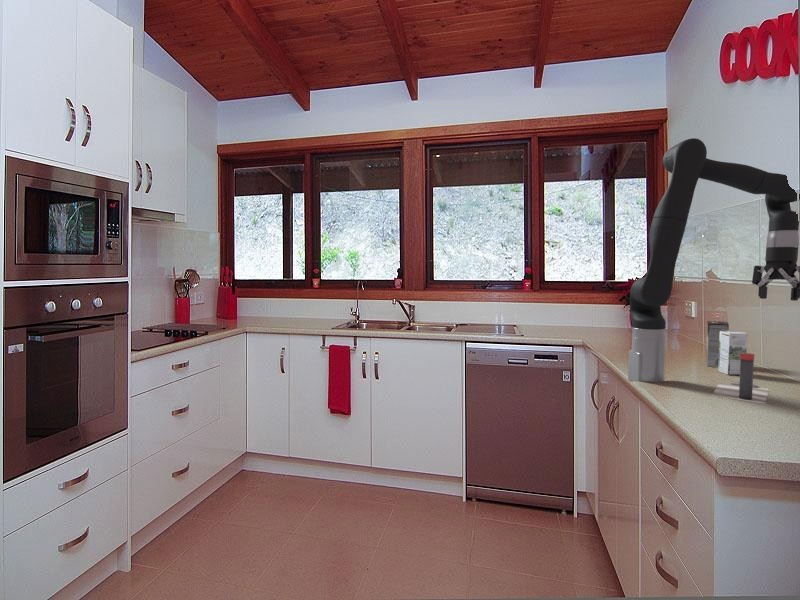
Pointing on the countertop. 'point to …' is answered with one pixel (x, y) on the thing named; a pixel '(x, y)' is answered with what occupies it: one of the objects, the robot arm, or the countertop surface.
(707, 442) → the countertop surface
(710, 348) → the coffee box
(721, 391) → the clipboard
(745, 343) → the syrup box
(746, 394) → the marker
